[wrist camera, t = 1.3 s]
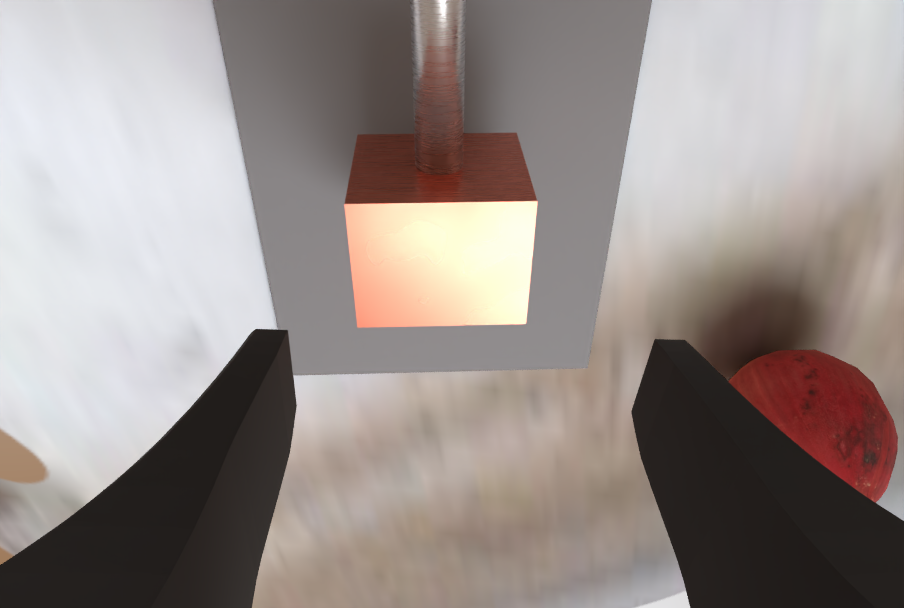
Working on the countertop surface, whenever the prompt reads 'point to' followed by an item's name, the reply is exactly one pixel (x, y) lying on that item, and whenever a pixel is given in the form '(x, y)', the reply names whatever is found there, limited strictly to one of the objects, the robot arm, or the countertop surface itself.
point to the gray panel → (392, 112)
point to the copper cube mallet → (440, 202)
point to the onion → (825, 413)
